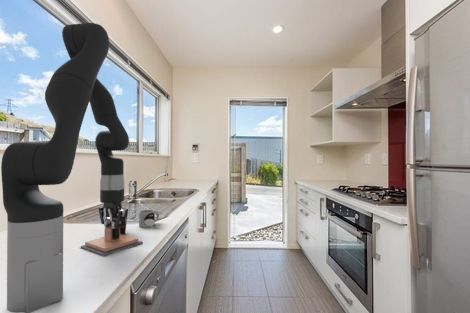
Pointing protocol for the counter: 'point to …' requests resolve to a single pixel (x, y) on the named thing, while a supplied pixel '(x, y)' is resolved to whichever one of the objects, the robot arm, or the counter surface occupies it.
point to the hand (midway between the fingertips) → (112, 237)
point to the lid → (110, 241)
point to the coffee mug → (123, 228)
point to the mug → (147, 218)
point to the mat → (110, 250)
